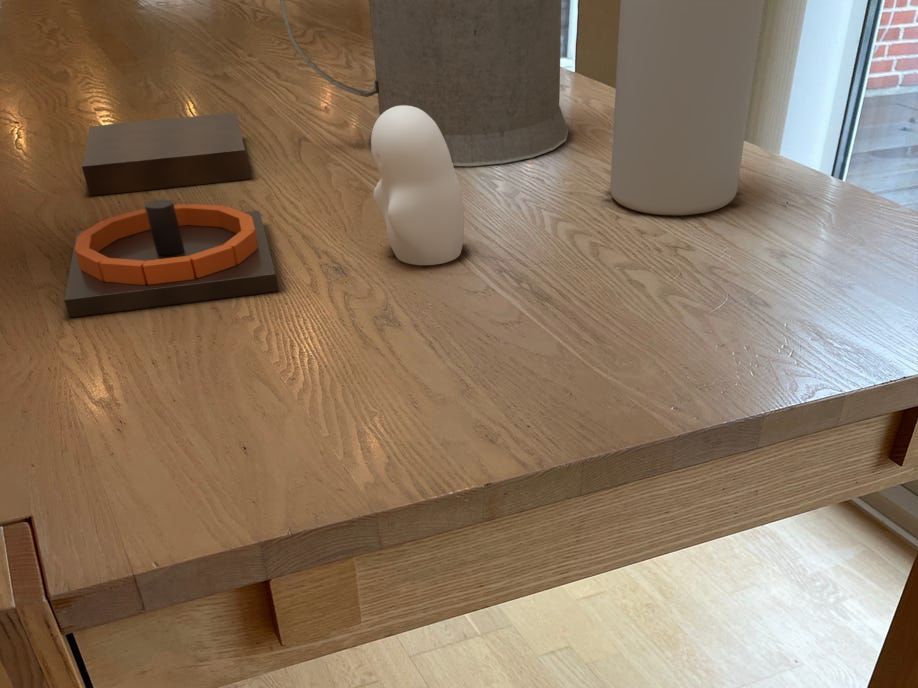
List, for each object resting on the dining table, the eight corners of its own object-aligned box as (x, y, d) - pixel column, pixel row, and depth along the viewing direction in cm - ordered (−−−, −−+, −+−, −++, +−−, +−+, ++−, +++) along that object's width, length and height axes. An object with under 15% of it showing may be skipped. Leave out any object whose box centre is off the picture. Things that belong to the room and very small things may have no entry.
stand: (90, 196, 101) (81, 166, 99) (97, 153, 114) (89, 126, 112) (250, 179, 104) (245, 149, 102) (240, 139, 117) (235, 112, 115)
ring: (76, 294, 77) (70, 274, 76) (86, 232, 88) (80, 214, 87) (263, 271, 80) (260, 251, 79) (250, 214, 91) (247, 196, 90)
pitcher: (589, 155, 107) (601, -130, 90) (306, 182, 103) (263, -110, 86) (543, 104, 124) (545, -145, 107) (298, 125, 120) (261, -129, 103)
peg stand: (69, 317, 77) (47, 249, 74) (81, 247, 90) (62, 185, 86) (278, 291, 80) (266, 224, 77) (262, 226, 93) (251, 165, 89)
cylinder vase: (706, 173, 101) (742, -129, 84) (756, 210, 92) (808, -121, 75) (593, 185, 99) (607, -122, 82) (633, 224, 90) (658, -112, 73)
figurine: (373, 246, 88) (358, 100, 80) (452, 235, 89) (445, 90, 81) (392, 273, 82) (378, 120, 74) (475, 261, 84) (470, 109, 76)
